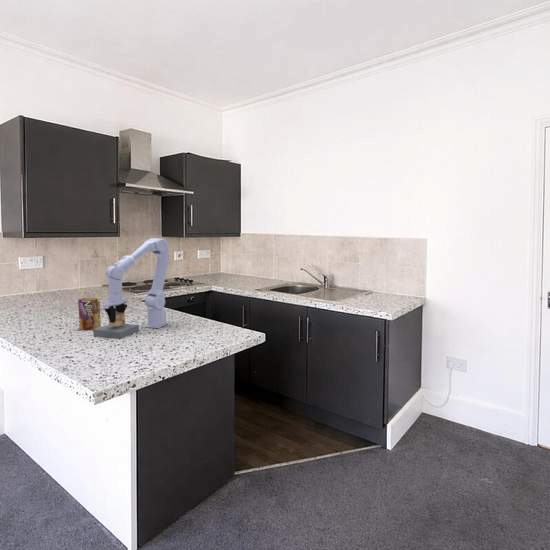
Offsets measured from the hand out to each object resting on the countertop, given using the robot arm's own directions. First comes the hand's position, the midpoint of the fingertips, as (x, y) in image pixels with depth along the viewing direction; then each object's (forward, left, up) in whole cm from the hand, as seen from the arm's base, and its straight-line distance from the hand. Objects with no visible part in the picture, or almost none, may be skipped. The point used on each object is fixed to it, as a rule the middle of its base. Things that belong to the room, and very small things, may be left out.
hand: (116, 321), depth 181 cm
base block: (0, 0, -6) cm, 6 cm away
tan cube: (0, 0, -2) cm, 2 cm away
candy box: (-4, -18, -6) cm, 19 cm away
